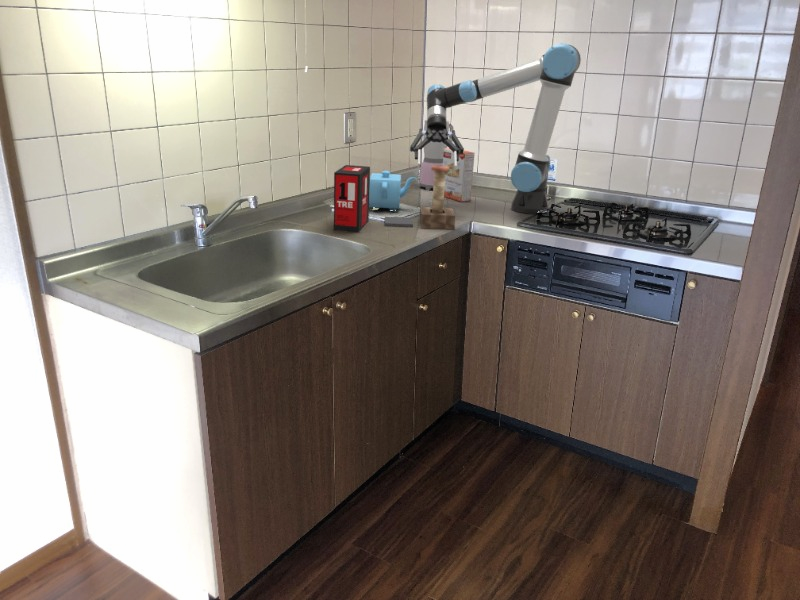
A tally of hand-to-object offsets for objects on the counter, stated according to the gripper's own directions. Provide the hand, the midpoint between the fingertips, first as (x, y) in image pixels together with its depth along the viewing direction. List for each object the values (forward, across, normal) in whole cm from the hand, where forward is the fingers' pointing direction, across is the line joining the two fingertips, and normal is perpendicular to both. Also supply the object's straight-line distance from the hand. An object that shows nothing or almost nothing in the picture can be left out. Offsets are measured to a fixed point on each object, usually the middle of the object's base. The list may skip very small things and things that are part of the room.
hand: (437, 166), depth 243 cm
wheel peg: (+21, 0, -6) cm, 22 cm away
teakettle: (+4, +19, -23) cm, 30 cm away
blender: (-27, -5, -55) cm, 62 cm away
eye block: (+21, 0, -6) cm, 22 cm away
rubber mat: (+21, +14, -6) cm, 26 cm away
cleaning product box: (+26, +31, -2) cm, 40 cm away
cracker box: (-12, -12, -40) cm, 43 cm away
